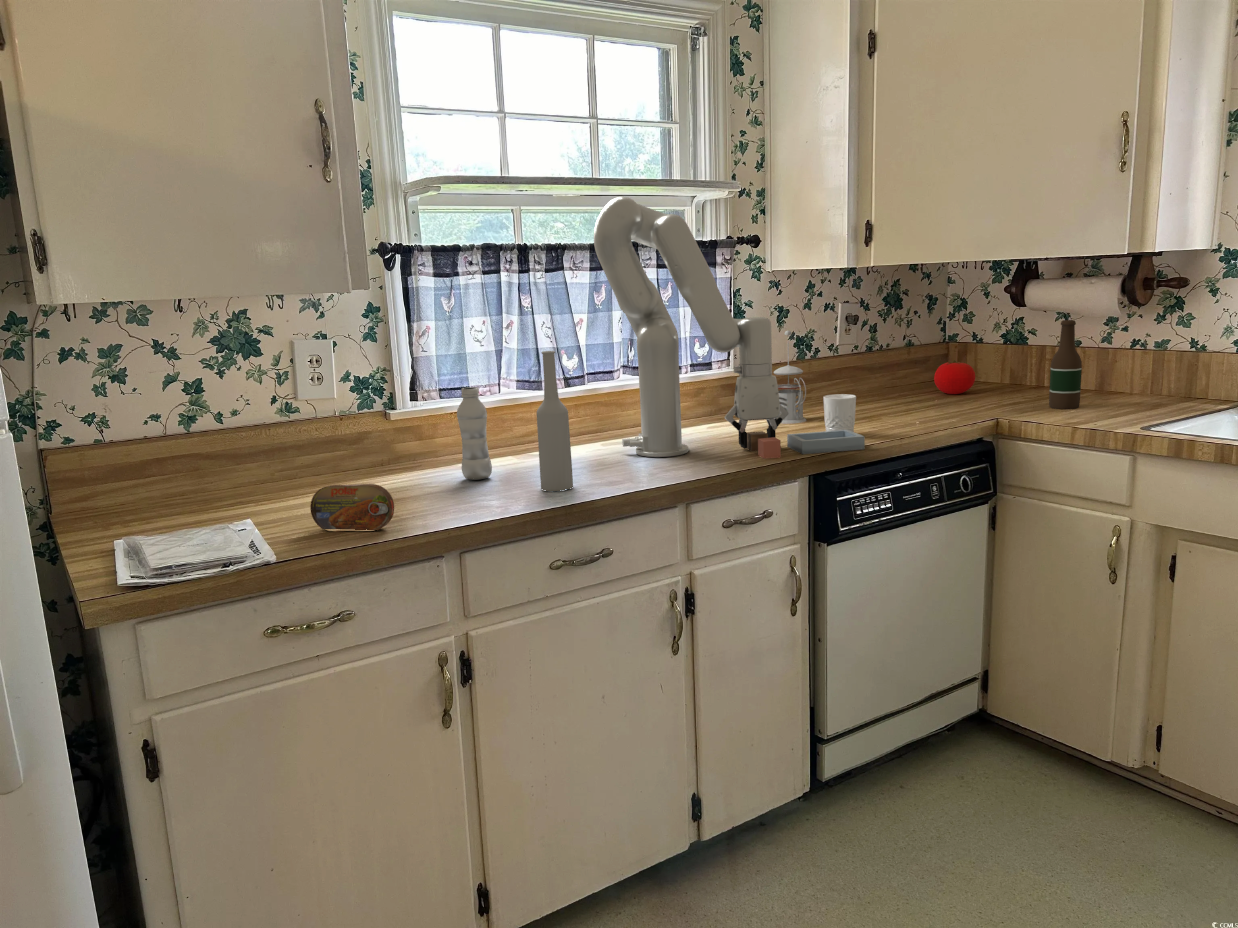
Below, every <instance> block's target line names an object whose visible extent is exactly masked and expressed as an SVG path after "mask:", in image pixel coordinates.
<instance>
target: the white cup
mask: <svg viewBox="0 0 1238 928" xmlns="http://www.w3.org/2000/svg"><path fill="white" fill-rule="evenodd" d="M856 403H857V396H856V395H855V394H845V393H841V394H839V393H837V394H827V395H823V412H824V413H823V414H824V416H823V417H824V426H825V431H835V430H849V431H852V432H854V431H855V422H856V409H857V407H856ZM854 433H855V432H854Z"/></svg>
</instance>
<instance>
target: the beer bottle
mask: <svg viewBox="0 0 1238 928" xmlns="http://www.w3.org/2000/svg"><path fill="white" fill-rule="evenodd" d="M1075 325H1077V323H1076V320H1074V319H1064V320H1061V322H1060V326H1061V331H1060V337H1059V338H1060V339H1059V345H1058V349H1057V351H1056V352H1055V354H1053V357H1052V358H1051V359H1052V360H1051V361H1050V367H1049V368H1050V369H1049V370H1050V371H1049V372H1050V373H1049V391H1048V393H1049V396H1048V405H1049V408H1051V409H1052V410H1053V409H1056V410H1075V409H1079V407H1080V402H1081V392H1082V391H1081V388H1082V387H1081V386H1082V372H1083V371H1082V369H1083V368H1082V367H1083V365H1082V362H1083V361H1082V359H1081V356H1080V354H1079V353H1078V351H1077V349H1076V338H1075V337H1076V334H1075V331H1076V330H1075V329H1076V328H1075V327H1076V326H1075Z"/></svg>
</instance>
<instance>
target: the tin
mask: <svg viewBox="0 0 1238 928" xmlns="http://www.w3.org/2000/svg"><path fill="white" fill-rule="evenodd" d="M309 507H310V508H309V509H310V515H311V518H312V519H313V521H314V522H315V524H316V525H317V526H318V527H320V529H322V530H323V529H355V530H366V529H367V530H377V531H380V530H381V529H382V528H384V527H385V526H387V525H388V524H389V523H390V522H391V521H392V519H393V518H394V513H395V503H394V499H393V497H392V494H391V493H390V492H389V491H388V490H387V489H386V488H385V487H383V486H382V485H379V484H375V483H365V484H364V483H363V484H362V483H361V484H358V483H356V484H333V485H332V484H331V485H328V486H323V487H321V488H320V489H318V490H317V491H316V492H314V494H313V495H312V498H311V501H310V506H309Z"/></svg>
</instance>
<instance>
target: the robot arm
mask: <svg viewBox="0 0 1238 928" xmlns="http://www.w3.org/2000/svg"><path fill="white" fill-rule="evenodd" d="M632 241H633V242H636V243H638V244H641V245H644V246H646V247H650V248H653V249H656V250H657V251H658V252H659V254H660V256H661V258H662V261H663V262H664V264H665V266H666V268H667V269H668V270H667V271H668V272H669V273H670V276H671V278H672V280H673V281H674V284H675V286H676V288H677V289H678V291H679V293H680V295H681V297H682V299H683V300H685V302H686V303H687V306H688V307H689V309H690V311H691V312H692V314H693V316H694V319H695V320H696V322H697V324H698V326H699V328H700V330H701V331H702V334H703V336H704V337H705V338H704V339H705V340H706V342H707V344H708V346H709V347H710V348H711V349H712V350H714V351H715V352H717V353H729V352H731V351H733V350H734V349H735V348H738V352H739V353H738V354H739V357H738V358H739V360H738V361H739V363H738V366H736V367H733V373H734V374H737V375H739V376H737V377H736V381H735V382H736V383H735V390H734V401H733V403H734V404H733V406H732V407H731V408H730V409H729V411H728V412H727V413H726V414H725V415H724V419H725V421H727V422H729V424H731V425H732V426H733V427H734V428H735V429H736V431H738V444H739V446H740V447H741V449H744V450H746V449H747V432H748V431H746V428H747V424H748V422H750V421H763V420H766V423H767V428H766V433H767V434H768V438H772V437H775V438H777V436H776V430H777V429H778V427H779V425H781V424H782V423H781V422H782V421H783V419H785V417H786V416H787V415H788V414H789V413H788V411H787V410H786V409H785V408H784V407H783V406H782V405H781V404H780V401H779V389H778V385H779V384H778V379H777V377H776V375H773V359H772V358H773V354H772V353H773V350H772V349H773V348H772V344H773V343H772V339H773V337H772V322H771V320H770V318H769V317H764V316H763V317H762V316H756V317H754V316H753V317H751V316H750V317H745V318H744V317H743V318H734V317H733V315H732V313H731V311H730V310H729V307H728V306H727V303H726V301H725V299H724V298H723V295H722V293H721V291H720V290H719V287H718V285H717V282H716V280H715V277H714V275H713V272H712V271H711V268H710V266H709V265H708V262H707V260H706V258H705V257H704V254H703V253H702V251H701V249H700V247H699V245H698V242H697V241H696V239H695V237H694V235H693V233H692V231H691V229H690V227H689V225H688V223H687V222H686V221H685V219H684V218H683V217H682V216H680V215H678V214H674V213H669V214H667V213H664V212H661V211H659V210H655V209H652V208H650V207H647V206H644V205H642V204H639V203H637V202H636V201H635V200H634V199H632V198H631V197H627V196H617V197H615V198H613V199H611V200H609V201H608V202H607V204H605V206H604V208H603V209H602V210H601V211H600V213H599V215H598V217H597V219H596V221H595V225H594V230H593V245H594V250H595V254H596V255H597V256H596V257H597V258H598V262H599V263H600V266H601V268H602V270H603V272H604V275H605V276H606V279H607V281H608V284H609V286H610V288H611V289H612V292H613V293H614V296H615V298H616V302H617V304H618V308H620V310H621V311H622V312H623V313H624V314H625V316H626V318H627V320H628V322H629V324H630V326H631V328H632V330H633V332H634V334H635V336H636V351H637V352H636V353H637V354H636V355H637V365H638V367H637V368H638V384H639V387H638V388H639V403H640V404H639V406H640V426H641V430H640V431H641V432H639V433H638V436H635V437H634V438H632V437H631V438H630V437H629V438H622V440H621V443H622V447H624V448H625V447H626V448H627V447H629V448H634V447H636V449H635V452H636V453H635V454H636V455H638V456H641V457H647V458H665V457H666V458H667V457H676V456H682V455H684V454H686V453H688V452H689V451H690V450H689V446H688V445H687V444H684V443H683V442H682V441H683V438H682V437H683V436H682V433H683V432H682V413H681V412H682V411H681V410H682V409H681V405H682V404H681V387H680V386H681V385H680V384H681V383H680V382H681V381H680V360H679V358H680V357H679V354H680V353H679V352H680V351H679V350H680V349H679V346H680V345H679V334H678V330H677V328H676V325H675V323H674V322H673V319H672V317H671V315H670V314H669V311H668V309H667V307H666V304H665V303H664V301H663V299H662V296H661V294H660V292H659V291H658V289H657V286H656V285H655V283H653V282H652V280H650V279H649V277H648V275H647V273H646V270H645V269H644V267H643V265H642V263H641V261H640V258H639V256H638V255H637V252H636V250H635V247H634V246H633V242H632ZM734 417H735V418H738V421H737V420H736V419H735V418H734ZM774 418H775V419H774ZM747 450H748V449H747Z"/></svg>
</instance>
